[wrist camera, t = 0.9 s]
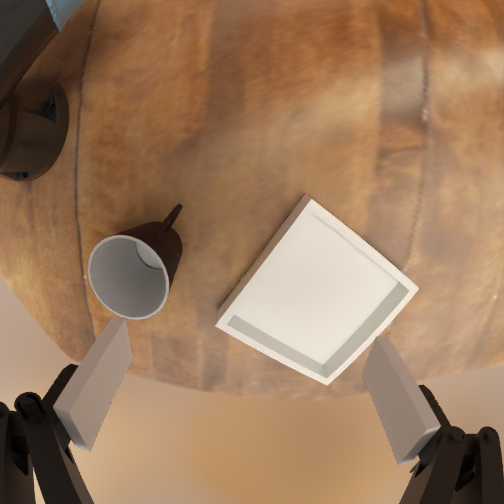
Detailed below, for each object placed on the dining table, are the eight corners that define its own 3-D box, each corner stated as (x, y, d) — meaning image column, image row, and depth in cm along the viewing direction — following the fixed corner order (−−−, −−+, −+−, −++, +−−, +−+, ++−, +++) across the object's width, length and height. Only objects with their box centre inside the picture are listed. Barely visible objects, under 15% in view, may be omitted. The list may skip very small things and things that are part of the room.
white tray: (218, 309, 38) (214, 325, 34) (304, 193, 33) (311, 199, 29) (322, 367, 41) (327, 385, 37) (405, 276, 36) (419, 288, 32)
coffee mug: (148, 288, 37) (118, 330, 27) (114, 231, 34) (73, 258, 25) (225, 253, 35) (215, 290, 26) (192, 188, 33) (167, 202, 23)
